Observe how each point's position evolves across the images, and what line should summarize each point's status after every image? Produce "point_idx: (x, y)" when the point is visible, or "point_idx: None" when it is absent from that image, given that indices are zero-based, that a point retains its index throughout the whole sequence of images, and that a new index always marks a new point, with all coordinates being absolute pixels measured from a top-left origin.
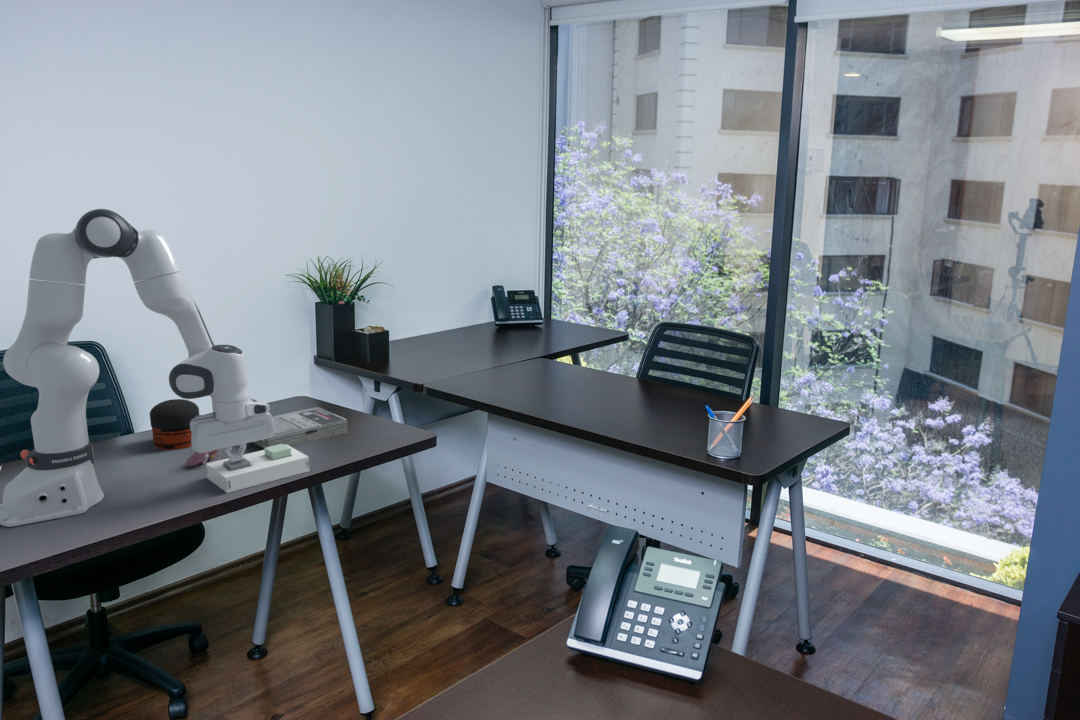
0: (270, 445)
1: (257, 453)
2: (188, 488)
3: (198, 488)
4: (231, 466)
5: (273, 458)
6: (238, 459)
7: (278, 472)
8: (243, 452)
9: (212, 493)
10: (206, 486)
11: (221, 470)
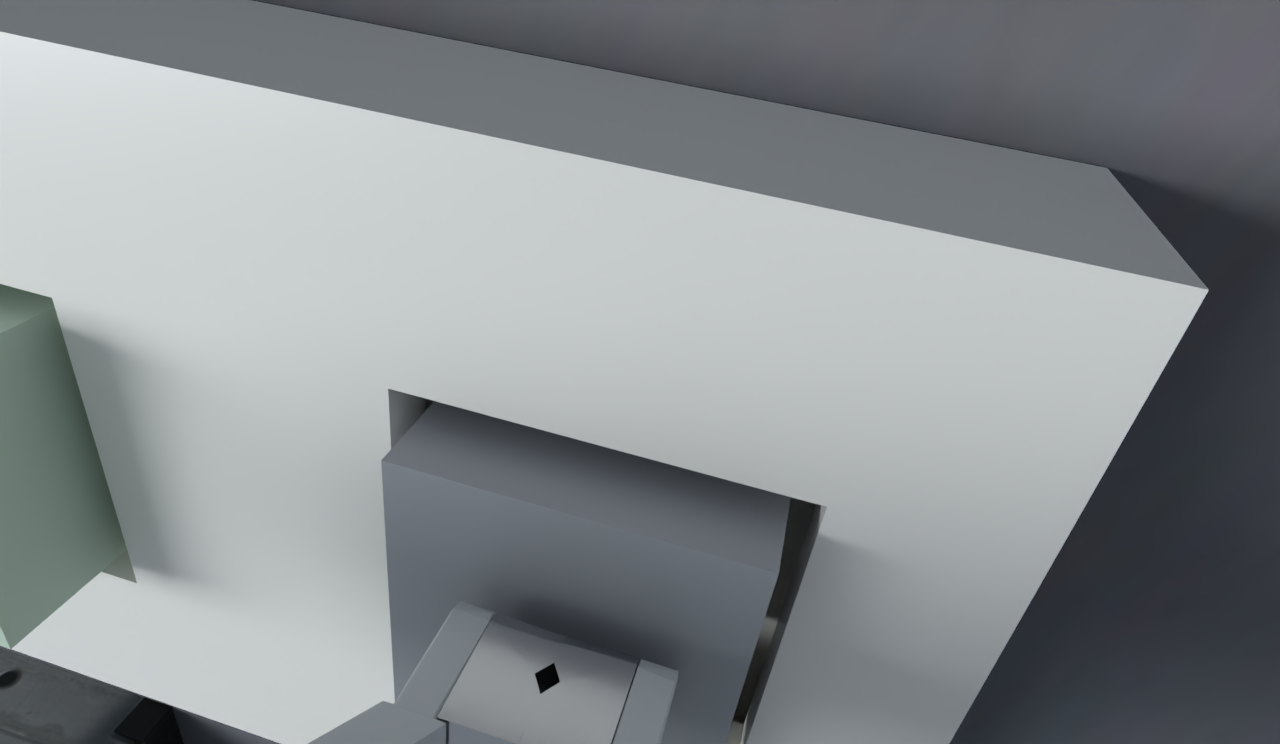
0: (65, 738)
1: (185, 665)
2: (1220, 725)
3: (1157, 637)
4: (753, 583)
5: (4, 327)
6: (530, 651)
7: (125, 4)
8: (350, 724)
9: (1236, 356)
10: (1043, 604)
11: (898, 648)
